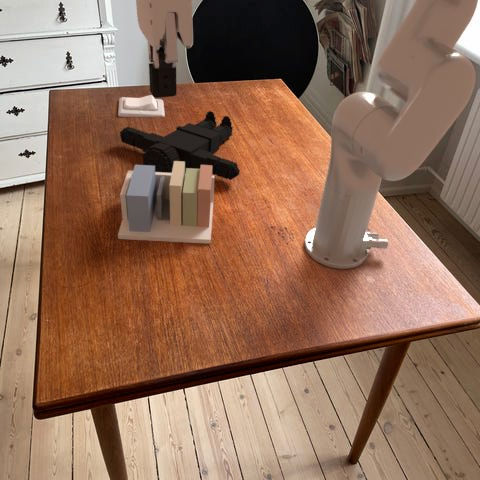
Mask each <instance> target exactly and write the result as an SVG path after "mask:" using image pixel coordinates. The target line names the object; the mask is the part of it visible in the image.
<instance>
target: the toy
mask: <svg viewBox="0 0 480 480" xmlns="http://www.w3.org/2000/svg"><path fill="white" fill-rule="evenodd" d="M216 119H217V118H216V115H215V113H214V111H211V110H209V111H207V113H206V114H205V118H203V120H201V121H199V122H197V123H195V124H194V123H191V122H189V123H187V124H184V125H183V126H181V125H177V126H176V128H175V130H174V131H172V132H169V133H167V134H166V135H165V136H163V135H160V134H157V133H154V132H150V133H149V132H146V131H144V130H143V131H142V130H140V129H136V128H134V127H130V126H126V127H124V128H123V129H122V130H121V131H119V136H120V139H121V140H120V141H121V143H123V144H126V145H128V146H131V147H134V148H138V149H140V150H142V153H143V152H144V153H143V157H142V159H143V160H142V162H143V163H142V165H151V166H155V172H164V173H172V169H173V164H174V161H183V162H185V169H186V168H194V169H200V166H201V165H212V175H216V176H218V177H220V178H223V179H225V180H229V181H232V180H233V179H234V178H237V177H238V176H239V175H240V171H241V169H239V167H238V166H239V165H238V164H237V162H235V161H232V160H229V159H227V158H223V157H221V156H217V155H215V154H214V153H216V152H217V151H218V150H220V144H221V143H223V142H224V141H226V140H227V139H229V138H230V137H233V136H232V135H233V126H232V124H233V123H232V121H231V120H232V119H231V118H230V116H228V115H225V116H223V117H222V119H221V123H219V124H218V125H217V121H216Z"/></svg>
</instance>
